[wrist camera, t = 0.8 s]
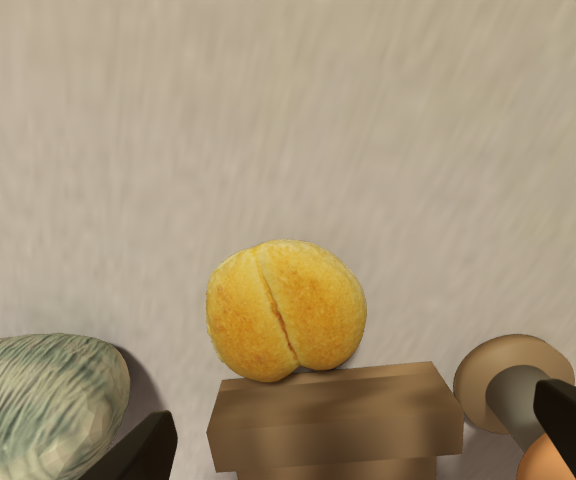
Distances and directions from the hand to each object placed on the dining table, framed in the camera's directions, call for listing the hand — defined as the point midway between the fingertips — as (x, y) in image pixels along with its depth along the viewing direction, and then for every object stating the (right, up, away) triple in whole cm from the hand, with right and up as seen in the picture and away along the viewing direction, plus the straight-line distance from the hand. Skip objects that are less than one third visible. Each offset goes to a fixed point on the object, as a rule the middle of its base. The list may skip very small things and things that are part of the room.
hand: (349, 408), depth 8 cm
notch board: (+2, -13, +15) cm, 20 cm away
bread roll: (0, +3, +11) cm, 12 cm away
